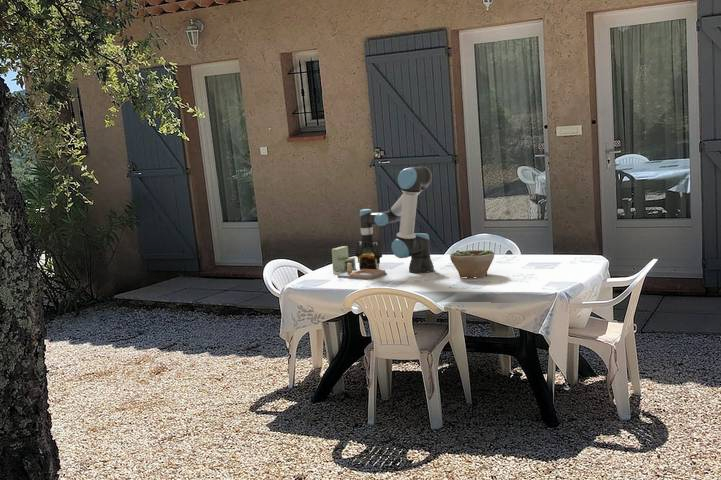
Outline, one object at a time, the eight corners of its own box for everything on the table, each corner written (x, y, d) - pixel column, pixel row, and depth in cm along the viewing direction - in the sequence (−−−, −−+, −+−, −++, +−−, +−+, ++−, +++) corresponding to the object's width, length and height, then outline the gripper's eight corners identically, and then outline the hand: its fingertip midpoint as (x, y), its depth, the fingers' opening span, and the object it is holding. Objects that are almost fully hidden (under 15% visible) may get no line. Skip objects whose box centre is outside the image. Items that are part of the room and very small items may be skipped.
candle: (375, 271, 483) (374, 255, 482) (359, 272, 486) (358, 256, 484) (379, 268, 493) (378, 253, 491) (363, 269, 495) (362, 253, 494)
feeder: (356, 268, 500) (354, 246, 498) (344, 271, 490) (343, 249, 488) (344, 267, 505) (342, 246, 503) (333, 271, 496) (331, 249, 494)
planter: (446, 280, 444) (445, 254, 442) (456, 271, 467) (455, 246, 465) (491, 280, 435) (490, 253, 433) (499, 271, 458) (498, 246, 456)
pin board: (386, 274, 472) (385, 262, 471) (371, 279, 459) (370, 267, 458) (353, 272, 487) (352, 260, 486) (337, 277, 474) (336, 265, 473)
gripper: (386, 233, 482) (388, 268, 485) (354, 232, 496) (357, 266, 499) (379, 235, 476) (382, 270, 479) (347, 234, 490) (350, 268, 493)
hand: (369, 268), depth 489 cm, fingers closed on candle, 12 cm apart
